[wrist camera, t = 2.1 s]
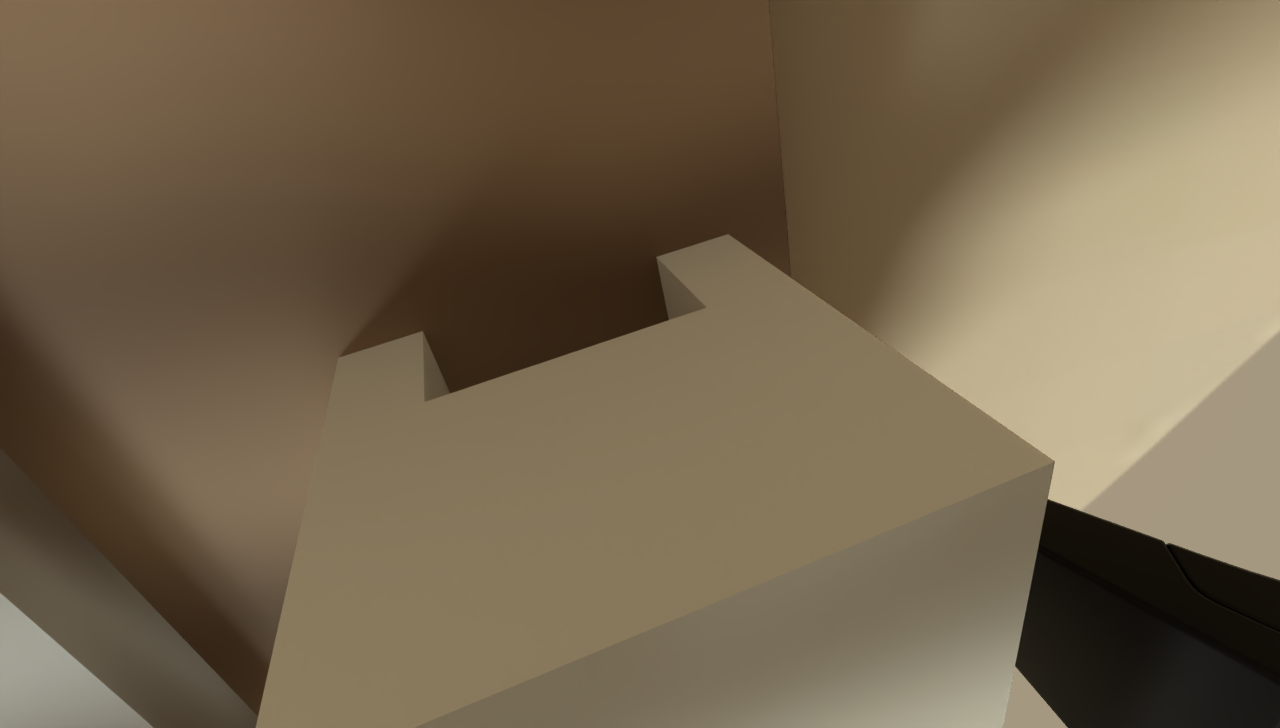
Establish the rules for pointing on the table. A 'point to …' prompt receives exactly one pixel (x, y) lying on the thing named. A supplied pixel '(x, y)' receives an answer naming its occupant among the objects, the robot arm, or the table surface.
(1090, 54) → the table surface
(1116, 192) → the table surface
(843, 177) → the table surface
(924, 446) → the notched block
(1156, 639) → the robot arm
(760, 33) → the cleat board
